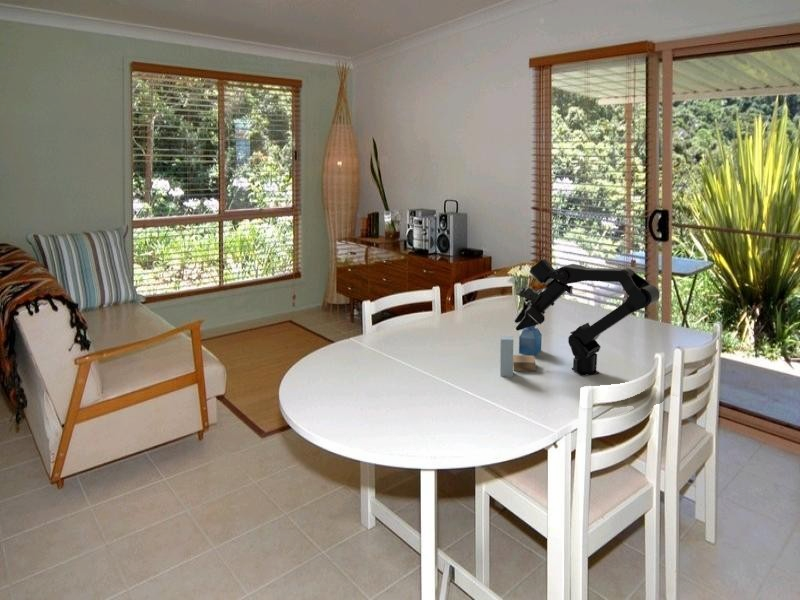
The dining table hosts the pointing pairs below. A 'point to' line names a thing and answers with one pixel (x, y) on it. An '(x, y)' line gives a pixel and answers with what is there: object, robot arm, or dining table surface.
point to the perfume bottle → (530, 341)
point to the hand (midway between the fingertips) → (515, 325)
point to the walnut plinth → (523, 363)
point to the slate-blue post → (506, 356)
